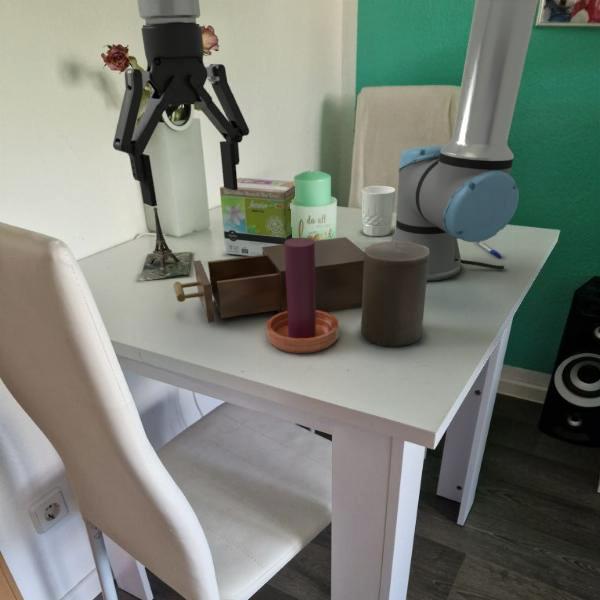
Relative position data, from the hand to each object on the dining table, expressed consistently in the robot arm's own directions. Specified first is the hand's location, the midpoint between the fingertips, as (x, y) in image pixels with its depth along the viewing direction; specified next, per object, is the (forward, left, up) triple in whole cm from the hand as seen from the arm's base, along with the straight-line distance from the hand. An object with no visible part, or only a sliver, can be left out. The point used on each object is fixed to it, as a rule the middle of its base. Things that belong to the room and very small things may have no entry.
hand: (192, 196), depth 82 cm
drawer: (-5, -6, -20) cm, 22 cm away
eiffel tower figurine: (+4, -33, -22) cm, 40 cm away
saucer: (-14, +9, -21) cm, 27 cm away
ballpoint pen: (-64, -18, -22) cm, 70 cm away
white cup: (-47, -39, -22) cm, 65 cm away
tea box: (-18, -35, -22) cm, 45 cm away
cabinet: (-21, -6, -21) cm, 30 cm away
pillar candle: (-28, +12, -22) cm, 37 cm away
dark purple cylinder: (-14, +9, -21) cm, 26 cm away
